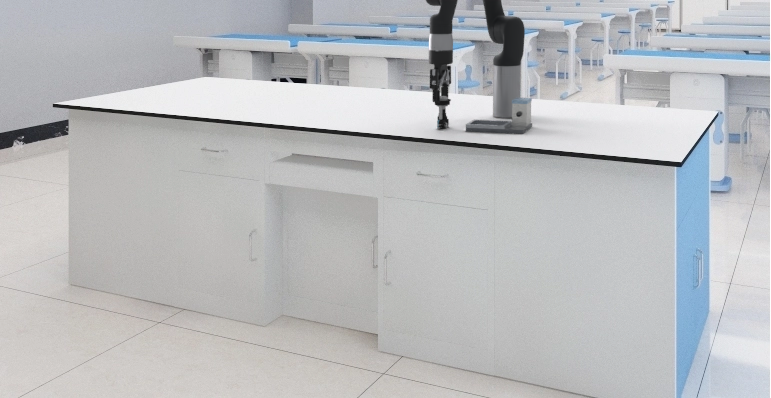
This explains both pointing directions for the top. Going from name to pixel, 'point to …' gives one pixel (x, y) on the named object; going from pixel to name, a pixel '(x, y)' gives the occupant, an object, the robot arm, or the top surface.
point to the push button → (443, 112)
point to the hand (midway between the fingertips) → (440, 100)
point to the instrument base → (516, 126)
